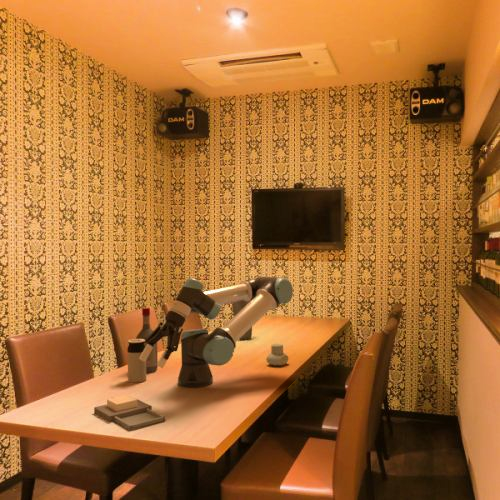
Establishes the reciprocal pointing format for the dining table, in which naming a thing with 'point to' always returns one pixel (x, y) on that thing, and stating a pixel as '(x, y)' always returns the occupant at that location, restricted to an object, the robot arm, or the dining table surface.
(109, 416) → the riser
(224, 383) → the dining table surface
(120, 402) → the coaster
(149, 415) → the tray
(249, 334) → the vase
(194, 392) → the dining table surface
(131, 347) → the travel mug
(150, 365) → the liquor
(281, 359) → the air freshener
